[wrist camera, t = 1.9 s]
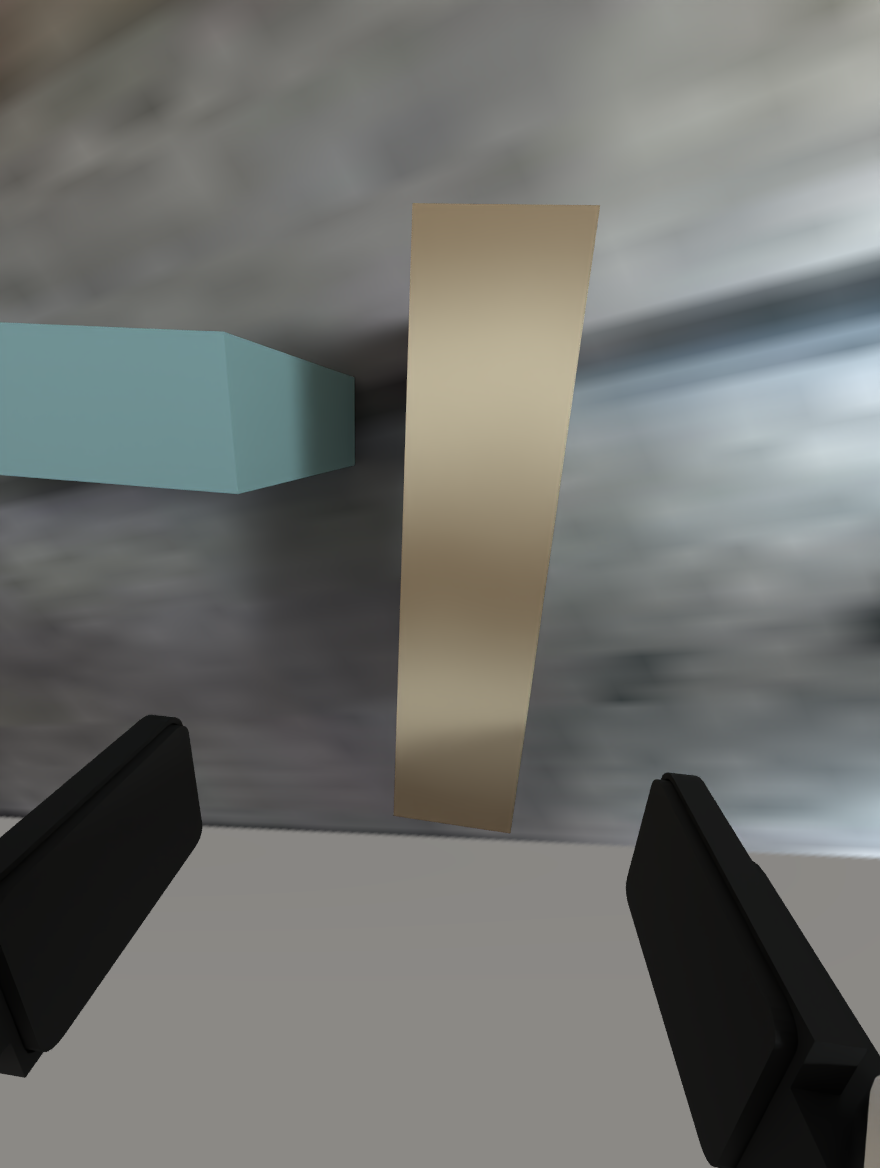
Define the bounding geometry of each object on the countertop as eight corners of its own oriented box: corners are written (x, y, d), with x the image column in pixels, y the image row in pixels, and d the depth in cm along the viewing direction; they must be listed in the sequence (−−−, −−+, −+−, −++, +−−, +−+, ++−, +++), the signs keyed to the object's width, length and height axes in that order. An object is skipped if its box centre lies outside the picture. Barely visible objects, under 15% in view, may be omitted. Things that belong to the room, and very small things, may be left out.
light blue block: (354, 377, 16) (223, 331, 8) (354, 465, 17) (238, 494, 9) (-47, 357, 18) (-453, 303, 10) (-25, 438, 19) (-382, 443, 11)
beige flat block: (457, 316, 15) (412, 203, 7) (549, 319, 15) (599, 205, 7) (435, 664, 19) (393, 815, 12) (507, 673, 19) (510, 833, 11)
